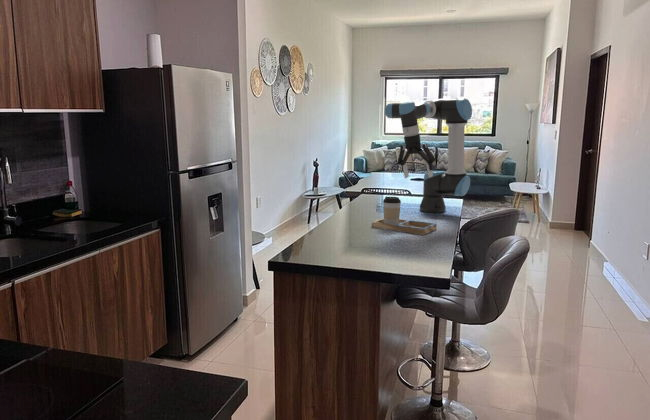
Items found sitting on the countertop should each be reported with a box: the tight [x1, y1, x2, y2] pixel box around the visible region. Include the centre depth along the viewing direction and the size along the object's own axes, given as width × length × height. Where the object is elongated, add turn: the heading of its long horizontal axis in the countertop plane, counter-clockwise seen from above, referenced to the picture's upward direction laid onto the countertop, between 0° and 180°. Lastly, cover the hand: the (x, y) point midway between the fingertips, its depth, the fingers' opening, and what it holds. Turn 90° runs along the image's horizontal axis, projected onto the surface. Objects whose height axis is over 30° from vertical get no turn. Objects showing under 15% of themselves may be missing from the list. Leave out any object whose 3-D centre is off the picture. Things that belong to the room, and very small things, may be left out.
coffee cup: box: [382, 195, 402, 225], centre depth 244 cm, size 9×9×15 cm
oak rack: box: [371, 217, 438, 236], centre depth 241 cm, size 15×28×3 cm, turn 54°
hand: (418, 177), depth 238 cm, fingers open, 13 cm apart
